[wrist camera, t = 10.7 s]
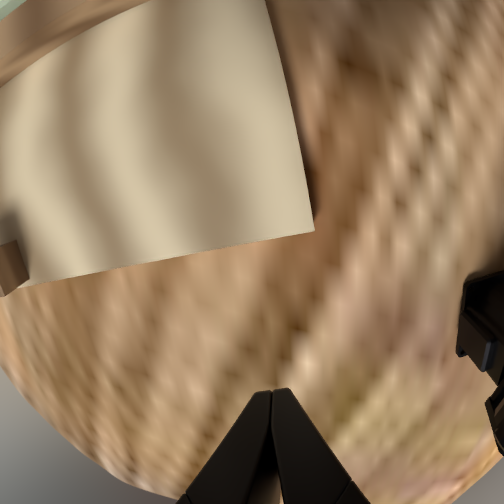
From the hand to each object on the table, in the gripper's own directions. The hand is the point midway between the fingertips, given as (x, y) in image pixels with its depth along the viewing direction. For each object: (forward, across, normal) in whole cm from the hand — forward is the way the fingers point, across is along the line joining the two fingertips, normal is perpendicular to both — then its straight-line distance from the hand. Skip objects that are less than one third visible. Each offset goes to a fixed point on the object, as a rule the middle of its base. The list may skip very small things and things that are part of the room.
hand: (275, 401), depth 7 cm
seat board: (+12, +9, -12) cm, 19 cm away
